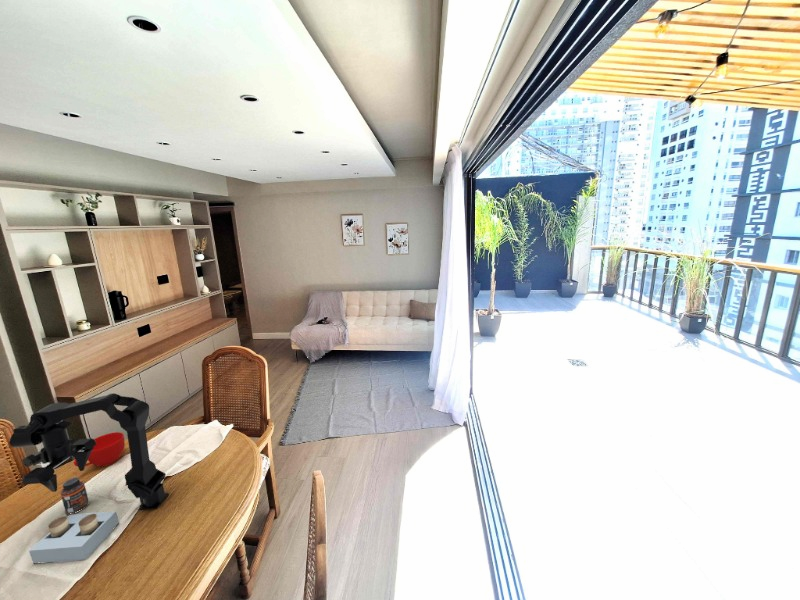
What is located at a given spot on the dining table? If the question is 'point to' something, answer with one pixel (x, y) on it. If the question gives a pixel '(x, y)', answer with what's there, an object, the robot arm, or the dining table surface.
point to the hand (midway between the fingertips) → (68, 480)
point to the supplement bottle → (74, 495)
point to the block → (74, 540)
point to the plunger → (59, 527)
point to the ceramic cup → (106, 449)
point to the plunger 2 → (88, 524)
